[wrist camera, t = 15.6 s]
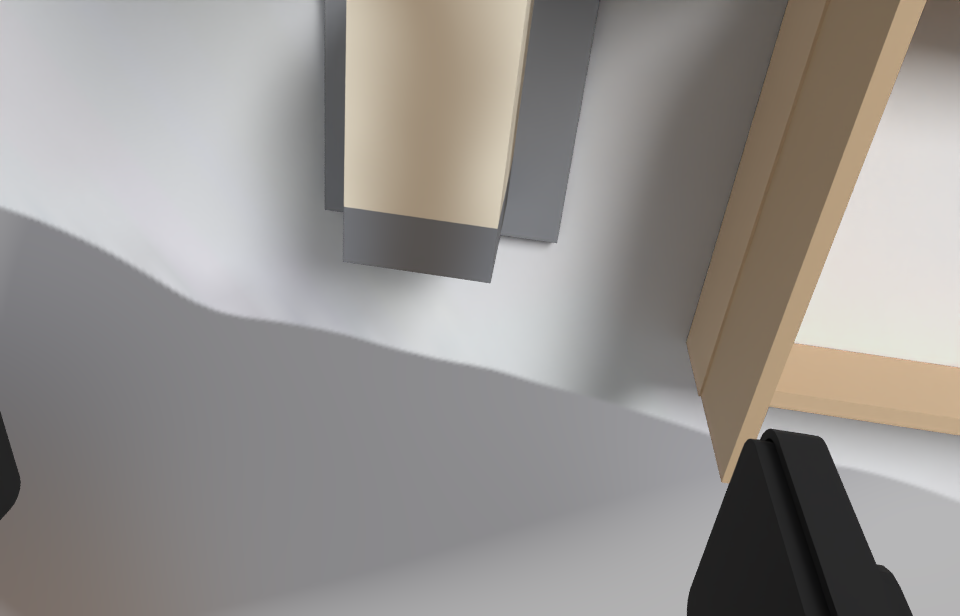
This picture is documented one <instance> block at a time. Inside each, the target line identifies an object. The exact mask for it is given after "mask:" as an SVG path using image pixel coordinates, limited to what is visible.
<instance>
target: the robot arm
mask: <svg viewBox="0 0 960 616" xmlns="http://www.w3.org/2000/svg"><path fill="white" fill-rule="evenodd" d="M20 483H21V482H20V476H19V473H18V469H17V466H16V463H15V460H14V456H13V453H12V449H11V446H10V443H9V439H8V436H7V433H6V429H5V426H4V423H3V419H2V416H1V412H0V520H1V519H2V517H3V516H4V515H5V514H6V513H7V512H8V511H9V510H10V509H11V507H12V506H13V505H14V503H15V501H16V499H17V497H18V494H19V490H20ZM687 616H913V615H912V613H911V610H910V608H909V606H908V604H907V601H906V599H905V597H904V594H903V592H902V590H901V588H900V586H899V584H898V582H897V581H896V579H895V577H894V575H893V574H892V573H891V572H890V571H889V570H888V569H887V568H885V567H884V566H882V565H877V564H876V562H875V560H874V558H873V555H872V553H871V550H870V548H869V546H868V543H867V541H866V539H865V536H864V534H863V531H862V529H861V527H860V524H859V522H858V519H857V517H856V515H855V512H854V510H853V507H852V505H851V503H850V500H849V498H848V495H847V493H846V491H845V489H844V486H843V483H842V481H841V479H840V476H839V474H838V472H837V469H836V467H835V464H834V462H833V459H832V457H831V455H830V452H829V450H828V447H827V445H826V443H825V442H824V440H823V439H822V438H820V437H819V436H814V435H808V434H801V433H795V432H788V431H782V430H775V429H768V430H766V431H765V432H764V433H763V435H762V437H761V439H760V440H757V439H748V440H747V441H746V442H745V443H744V446H743V448H742V450H741V453H740V456H739V458H738V461H737V464H736V467H735V469H734V472H733V475H732V477H731V480H730V483H729V486H728V488H727V491H726V494H725V496H724V499H723V502H722V505H721V508H720V510H719V513H718V515H717V518H716V521H715V523H714V526H713V529H712V532H711V534H710V537H709V540H708V542H707V545H706V548H705V551H704V553H703V556H702V559H701V561H700V564H699V567H698V569H697V572H696V575H695V577H694V580H693V583H692V586H691V588H690V592H689V597H688V604H687Z"/></svg>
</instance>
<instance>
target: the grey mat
mask: <svg viewBox="0 0 960 616" xmlns="http://www.w3.org/2000/svg"><path fill="white" fill-rule="evenodd" d="M599 2H600V0H534V6H533V13H532V21H531V28H530V36H529V43H528V51H527V58H526V66H525V73H524V80H523V88H522V95H521V103H520V110H519V118H518V125H517V132H516V140H515V147H514V155H513V162H512V170H511V177H510V185H509V192H508V199H507V205H506V210H505V215H504V220H503V225H502V230H501V235H504V236H511V237H518V238H525V239H532V240H539V241H546V242H553V243H557V240H558V234H559V229H560V223H561V217H562V212H563V206H564V200H565V195H566V189H567V183H568V178H569V172H570V166H571V161H572V155H573V149H574V144H575V138H576V132H577V127H578V121H579V115H580V110H581V104H582V98H583V92H584V87H585V81H586V75H587V70H588V64H589V58H590V53H591V47H592V41H593V36H594V30H595V24H596V19H597V13H598V7H599ZM345 77H346V0H325V210H330V211H337V212H344V156H345Z"/></svg>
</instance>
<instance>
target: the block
mask: <svg viewBox="0 0 960 616" xmlns="http://www.w3.org/2000/svg"><path fill="white" fill-rule="evenodd" d="M533 6H534V0H346V77H345V156H344V234H343V262H350V263H356V264H363V265H370V266H377V267H384V268H390V269H397V270H404V271H411V272H418V273H424V274H431V275H438V276H445V277H451V278H458V279H465V280H472V281H479V282H485V283H491V278H492V273H493V268H494V264H495V259H496V254H497V249H498V244H499V239H500V235H501V230H502V225H503V220H504V215H505V210H506V205H507V199H508V192H509V185H510V177H511V170H512V162H513V155H514V147H515V140H516V132H517V125H518V118H519V110H520V103H521V95H522V88H523V80H524V73H525V66H526V58H527V51H528V43H529V36H530V28H531V21H532V13H533Z"/></svg>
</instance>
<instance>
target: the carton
mask: <svg viewBox="0 0 960 616" xmlns="http://www.w3.org/2000/svg"><path fill="white" fill-rule="evenodd" d="M926 1H927V0H788V3H787V7H786V10H785V14H784V17H783V20H782V24H781V27H780V30H779V34H778V37H777V40H776V44H775V47H774V50H773V54H772V57H771V60H770V64H769V67H768V70H767V74H766V77H765V81H764V84H763V87H762V91H761V94H760V97H759V101H758V104H757V107H756V111H755V114H754V117H753V121H752V124H751V127H750V131H749V134H748V137H747V141H746V144H745V148H744V151H743V154H742V158H741V161H740V164H739V168H738V171H737V174H736V178H735V181H734V184H733V188H732V191H731V194H730V198H729V201H728V204H727V208H726V211H725V214H724V218H723V221H722V225H721V228H720V231H719V235H718V238H717V241H716V245H715V248H714V251H713V255H712V258H711V261H710V265H709V268H708V271H707V275H706V278H705V281H704V285H703V288H702V292H701V295H700V298H699V302H698V305H697V308H696V312H695V315H694V318H693V322H692V325H691V328H690V332H689V335H688V338H687V342H686V344H687V348H688V353H689V357H690V361H691V366H692V370H693V374H694V378H695V383H696V387H697V391H698V395H699V396H701V398H702V402H703V407H704V411H705V415H706V419H707V423H708V428H709V432H710V436H711V440H712V444H713V449H714V453H715V457H716V461H717V465H718V470H719V474H720V478H721V482H723V483H730V480H731V477H732V475H733V472H734V469H735V467H736V464H737V461H738V458H739V456H740V453H741V450H742V448H743V446H744V443H745V442H746V441H747V440H748V439H757V436H758V434H759V431H760V429H761V426H762V423H763V421H764V418H765V416H766V413H767V410H768V408H769V407H775V408H782V409H788V410H795V411H802V412H808V413H815V414H821V415H828V416H835V417H841V418H848V419H855V420H861V421H868V422H874V423H881V424H888V425H894V426H901V427H907V428H914V429H921V430H927V431H934V432H940V433H947V434H954V435H960V368H958V367H951V366H944V365H937V364H931V363H924V362H917V361H910V360H903V359H897V358H890V357H883V356H876V355H870V354H863V353H856V352H849V351H842V350H836V349H829V348H822V347H815V346H809V345H802V344H795V343H794V341H795V338H796V336H797V333H798V331H799V328H800V325H801V323H802V320H803V318H804V315H805V313H806V310H807V307H808V305H809V302H810V300H811V297H812V295H813V292H814V289H815V287H816V284H817V282H818V279H819V276H820V274H821V271H822V269H823V266H824V264H825V261H826V258H827V256H828V253H829V251H830V248H831V246H832V243H833V240H834V238H835V235H836V233H837V230H838V228H839V225H840V222H841V220H842V217H843V215H844V212H845V209H846V207H847V204H848V202H849V199H850V197H851V194H852V191H853V189H854V186H855V184H856V181H857V179H858V176H859V173H860V171H861V168H862V166H863V163H864V161H865V158H866V155H867V153H868V150H869V148H870V145H871V143H872V140H873V137H874V135H875V132H876V130H877V127H878V124H879V122H880V119H881V117H882V114H883V112H884V109H885V106H886V104H887V101H888V99H889V96H890V94H891V91H892V88H893V86H894V83H895V81H896V78H897V76H898V73H899V70H900V68H901V65H902V63H903V60H904V57H905V55H906V52H907V50H908V47H909V45H910V42H911V39H912V37H913V34H914V32H915V29H916V27H917V24H918V21H919V19H920V16H921V14H922V11H923V9H924V6H925V3H926Z"/></svg>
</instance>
